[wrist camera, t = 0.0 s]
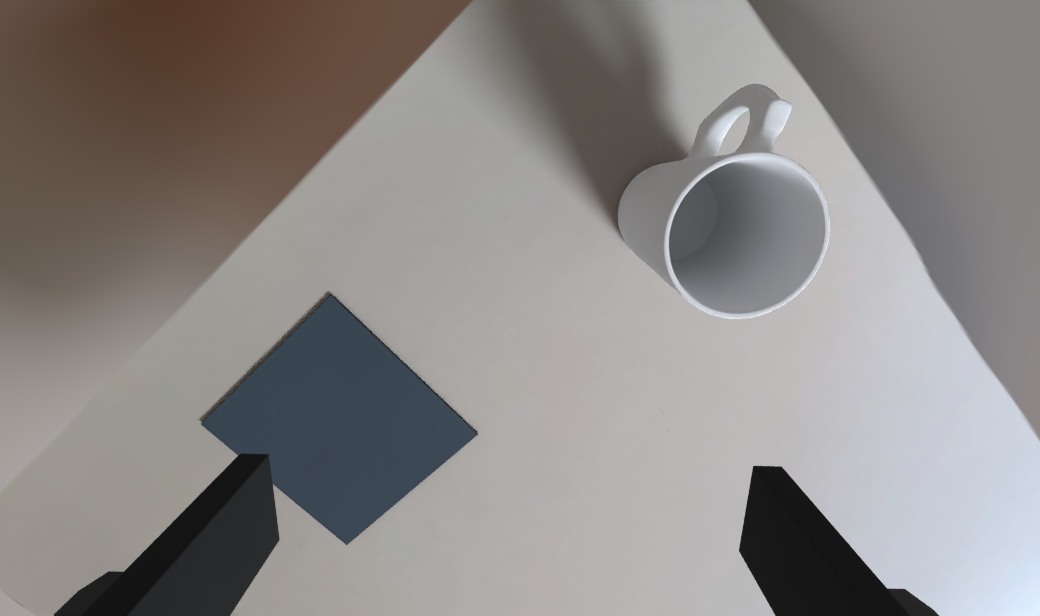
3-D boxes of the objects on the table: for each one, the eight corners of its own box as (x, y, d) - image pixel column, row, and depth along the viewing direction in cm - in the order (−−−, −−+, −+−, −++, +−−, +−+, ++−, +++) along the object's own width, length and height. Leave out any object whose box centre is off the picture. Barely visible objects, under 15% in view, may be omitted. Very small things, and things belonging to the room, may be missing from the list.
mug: (698, 277, 33) (791, 335, 22) (599, 252, 33) (641, 298, 21) (753, 119, 31) (894, 89, 19) (648, 89, 30) (726, 41, 19)
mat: (331, 294, 34) (330, 295, 33) (478, 433, 36) (477, 434, 36) (202, 422, 36) (200, 424, 36) (347, 543, 39) (346, 545, 39)
